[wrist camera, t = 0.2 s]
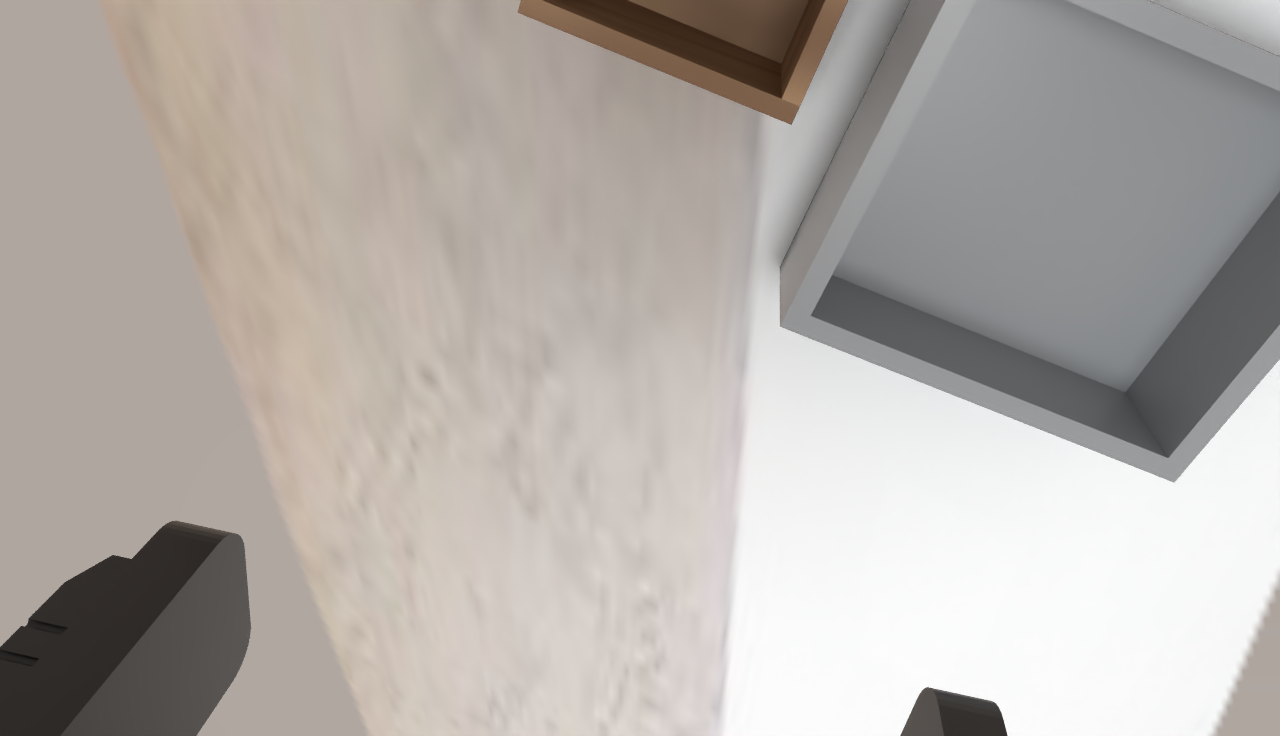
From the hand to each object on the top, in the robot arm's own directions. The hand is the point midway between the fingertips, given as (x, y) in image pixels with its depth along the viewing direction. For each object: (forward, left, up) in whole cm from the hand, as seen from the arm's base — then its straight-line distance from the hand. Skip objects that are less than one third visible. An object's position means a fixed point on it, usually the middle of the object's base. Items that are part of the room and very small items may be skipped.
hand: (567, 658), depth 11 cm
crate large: (-2, +13, -28) cm, 30 cm away
